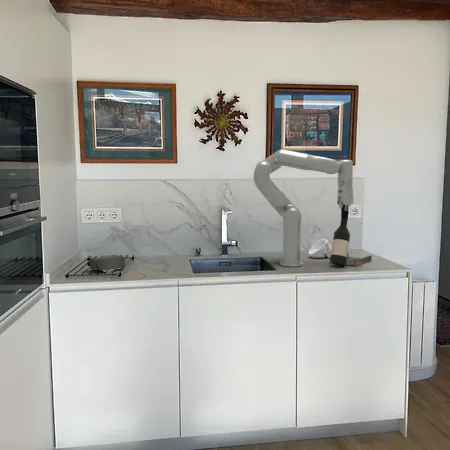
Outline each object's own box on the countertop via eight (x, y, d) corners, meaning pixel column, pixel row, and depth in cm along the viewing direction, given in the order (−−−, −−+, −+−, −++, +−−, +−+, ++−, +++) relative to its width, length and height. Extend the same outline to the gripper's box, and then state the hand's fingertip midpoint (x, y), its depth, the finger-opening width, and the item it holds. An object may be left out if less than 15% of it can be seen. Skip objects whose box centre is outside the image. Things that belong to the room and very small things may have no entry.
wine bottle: (346, 264, 228) (354, 208, 234) (330, 261, 230) (338, 206, 236) (344, 266, 236) (352, 212, 242) (329, 263, 238) (337, 210, 244)
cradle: (329, 263, 243) (330, 257, 242) (346, 257, 258) (346, 252, 257) (355, 266, 233) (355, 261, 233) (371, 260, 248) (371, 255, 247)
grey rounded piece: (118, 266, 242) (117, 252, 241) (129, 269, 234) (128, 254, 233) (87, 271, 230) (86, 256, 229) (97, 274, 222) (96, 259, 221)
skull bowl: (341, 256, 256) (330, 238, 253) (321, 269, 255) (310, 252, 252) (333, 252, 266) (323, 236, 263) (314, 265, 265) (304, 249, 262)
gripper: (345, 183, 225) (344, 219, 227) (358, 183, 236) (357, 217, 239) (331, 183, 230) (331, 219, 232) (345, 183, 241) (344, 216, 243)
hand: (344, 218), depth 235 cm, fingers closed
